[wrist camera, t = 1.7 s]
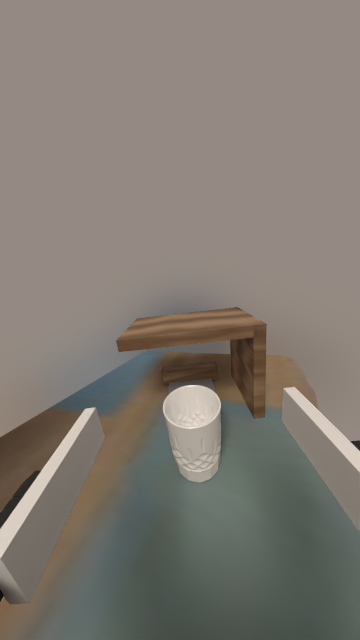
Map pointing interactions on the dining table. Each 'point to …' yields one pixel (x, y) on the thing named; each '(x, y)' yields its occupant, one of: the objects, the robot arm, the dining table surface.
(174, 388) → the felt pad
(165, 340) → the walnut shelf
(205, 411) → the white cup
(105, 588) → the dining table surface
